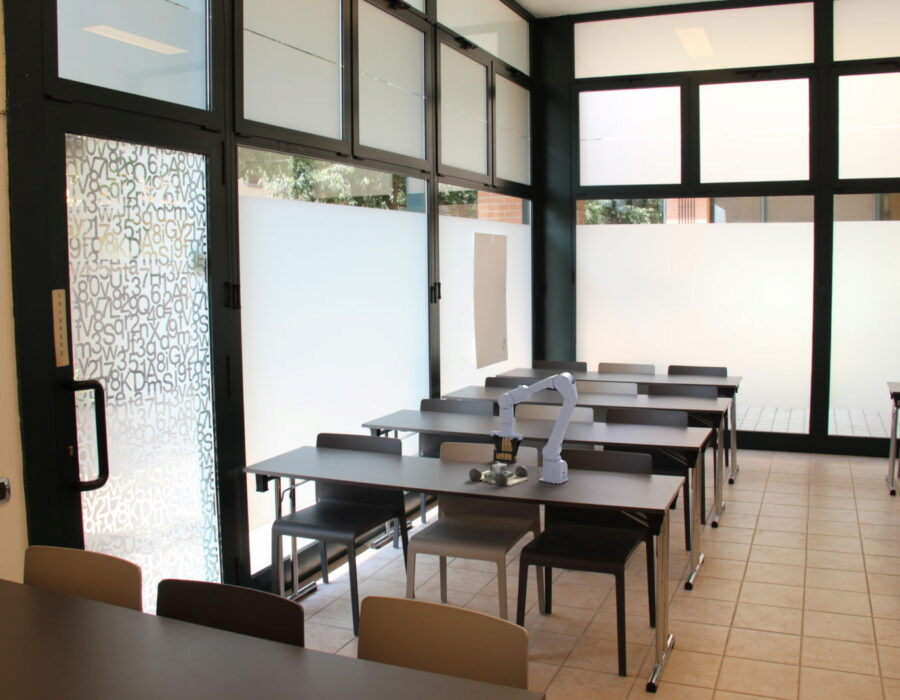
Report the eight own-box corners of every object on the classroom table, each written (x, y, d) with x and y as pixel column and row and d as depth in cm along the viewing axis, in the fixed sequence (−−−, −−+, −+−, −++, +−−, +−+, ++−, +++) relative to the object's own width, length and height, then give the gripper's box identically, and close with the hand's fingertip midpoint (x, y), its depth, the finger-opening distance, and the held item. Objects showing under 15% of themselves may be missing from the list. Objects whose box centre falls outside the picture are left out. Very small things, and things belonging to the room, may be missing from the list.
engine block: (506, 476, 348) (506, 464, 348) (500, 478, 344) (500, 466, 344) (498, 474, 351) (498, 462, 350) (492, 477, 347) (491, 465, 346)
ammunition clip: (516, 462, 376) (516, 435, 374) (515, 463, 374) (514, 436, 373) (495, 459, 381) (494, 433, 379) (493, 460, 379) (492, 434, 378)
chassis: (530, 479, 347) (530, 467, 346) (506, 487, 335) (506, 475, 334) (491, 471, 360) (490, 460, 359) (467, 479, 348) (467, 467, 347)
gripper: (526, 422, 347) (527, 455, 348) (498, 418, 356) (498, 450, 358) (517, 425, 342) (517, 458, 343) (487, 421, 351) (488, 453, 352)
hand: (507, 454), depth 350 cm, fingers open, 7 cm apart
